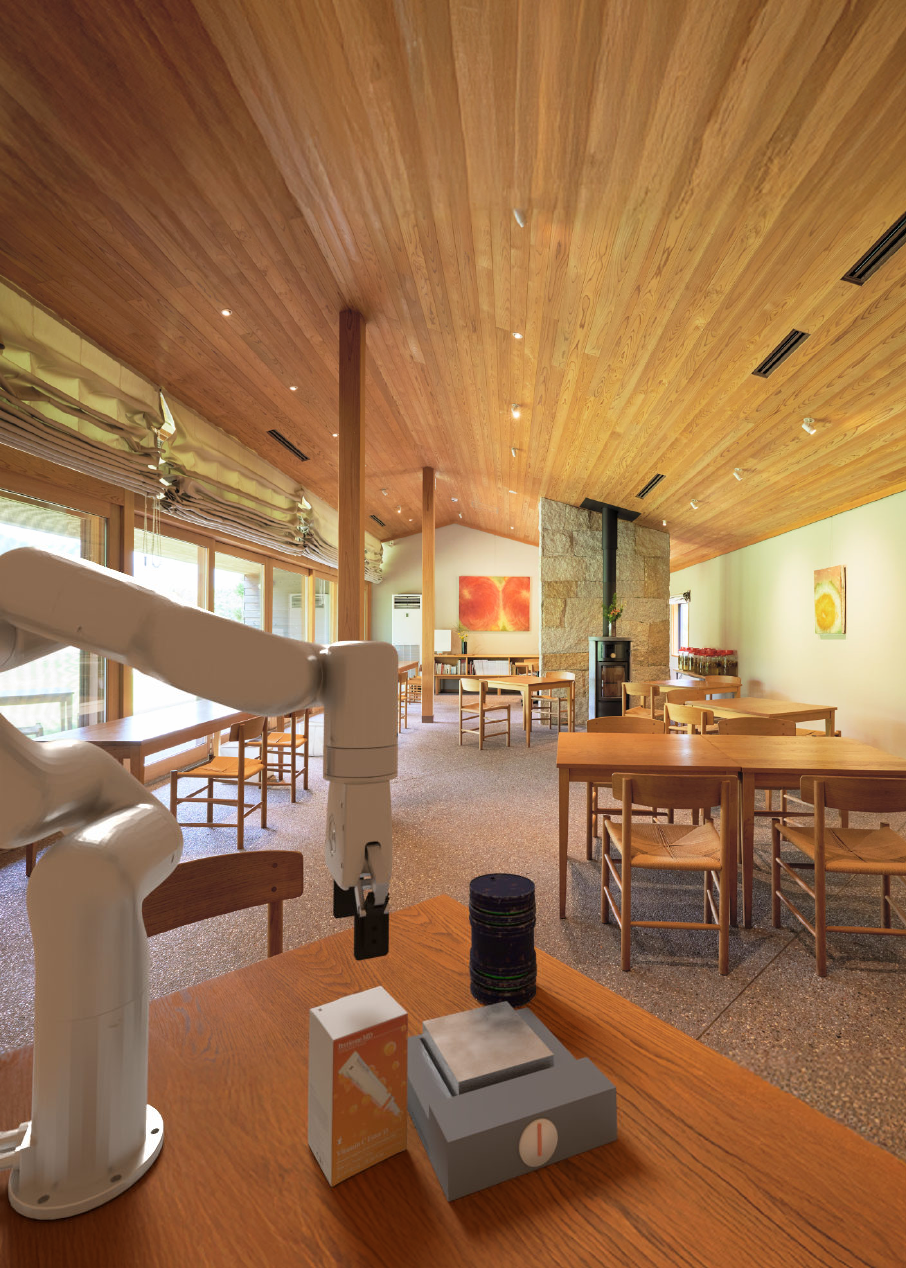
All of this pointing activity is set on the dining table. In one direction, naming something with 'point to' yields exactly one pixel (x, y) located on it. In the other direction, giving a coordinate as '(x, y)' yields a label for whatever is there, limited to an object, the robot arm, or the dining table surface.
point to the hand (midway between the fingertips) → (358, 934)
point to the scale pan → (483, 1048)
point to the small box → (357, 1082)
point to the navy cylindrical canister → (502, 939)
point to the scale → (509, 1117)
